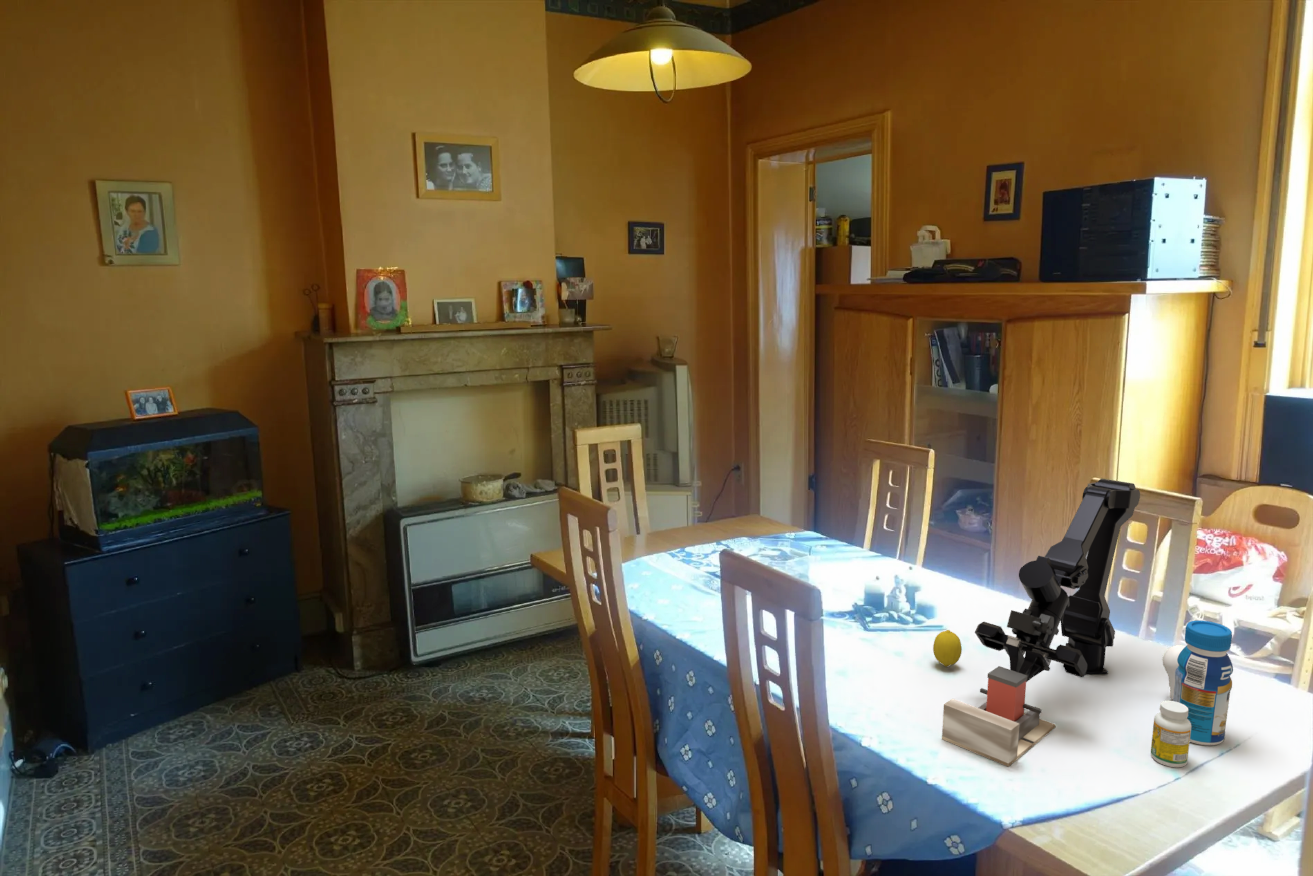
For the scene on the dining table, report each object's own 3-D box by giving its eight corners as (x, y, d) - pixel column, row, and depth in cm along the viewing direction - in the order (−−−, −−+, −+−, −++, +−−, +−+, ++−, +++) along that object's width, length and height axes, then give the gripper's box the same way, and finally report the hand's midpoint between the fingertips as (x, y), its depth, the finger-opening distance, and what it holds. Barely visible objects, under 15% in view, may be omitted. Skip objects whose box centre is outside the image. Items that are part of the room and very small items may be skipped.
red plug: (980, 710, 161) (983, 660, 159) (1040, 732, 153) (1044, 681, 151) (969, 718, 158) (972, 668, 157) (1029, 741, 151) (1033, 689, 149)
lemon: (962, 673, 177) (964, 636, 176) (933, 671, 179) (935, 634, 177) (958, 661, 183) (960, 625, 181) (930, 659, 184) (932, 624, 182)
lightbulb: (1182, 712, 161) (1189, 656, 159) (1151, 698, 167) (1156, 644, 165) (1203, 704, 164) (1209, 649, 162) (1171, 690, 169) (1177, 637, 167)
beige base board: (991, 703, 165) (993, 671, 164) (1055, 727, 157) (1058, 693, 155) (941, 739, 153) (943, 704, 152) (1008, 767, 145) (1011, 730, 143)
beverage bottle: (1159, 722, 158) (1170, 617, 154) (1207, 722, 158) (1219, 617, 154) (1185, 747, 150) (1198, 637, 146) (1236, 747, 149) (1250, 637, 146)
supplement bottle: (1183, 772, 143) (1190, 718, 141) (1146, 760, 146) (1152, 707, 144) (1190, 758, 147) (1196, 705, 145) (1153, 747, 150) (1159, 695, 148)
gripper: (982, 580, 163) (949, 653, 158) (1086, 607, 150) (1053, 688, 145) (1000, 609, 170) (968, 680, 165) (1100, 637, 157) (1069, 716, 151)
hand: (1012, 690), depth 156 cm, fingers closed, pressing on red plug
